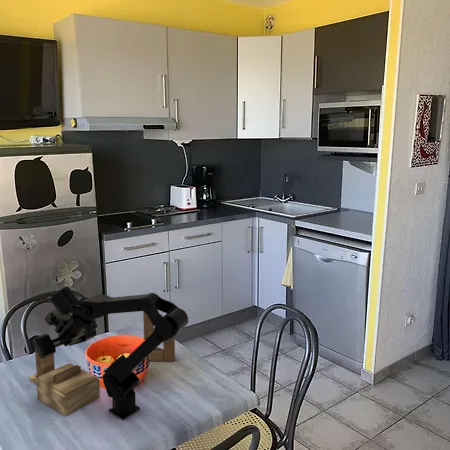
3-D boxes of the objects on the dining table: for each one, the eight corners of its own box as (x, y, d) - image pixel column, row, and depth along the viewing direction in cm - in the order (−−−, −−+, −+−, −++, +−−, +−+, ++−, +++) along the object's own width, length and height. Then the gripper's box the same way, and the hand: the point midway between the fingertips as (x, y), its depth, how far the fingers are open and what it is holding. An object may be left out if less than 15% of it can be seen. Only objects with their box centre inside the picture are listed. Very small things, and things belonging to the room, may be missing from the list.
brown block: (55, 378, 150) (53, 347, 148) (44, 383, 147) (41, 351, 145) (48, 374, 153) (46, 343, 151) (37, 379, 150) (34, 348, 147)
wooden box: (100, 397, 140) (99, 379, 139) (65, 416, 131) (64, 397, 130) (50, 370, 155) (49, 353, 154) (16, 385, 146) (15, 368, 145)
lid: (97, 379, 139) (97, 371, 138) (65, 396, 130) (65, 386, 129) (69, 365, 147) (69, 357, 146) (37, 379, 138) (36, 371, 138)
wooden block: (173, 362, 162) (173, 313, 158) (143, 361, 162) (141, 312, 159) (175, 357, 166) (174, 309, 162) (144, 356, 166) (143, 308, 162)
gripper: (89, 294, 144) (69, 318, 153) (33, 312, 130) (15, 338, 139) (106, 324, 141) (85, 347, 150) (51, 346, 127) (32, 370, 136)
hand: (55, 349), depth 144 cm, fingers open, 9 cm apart
